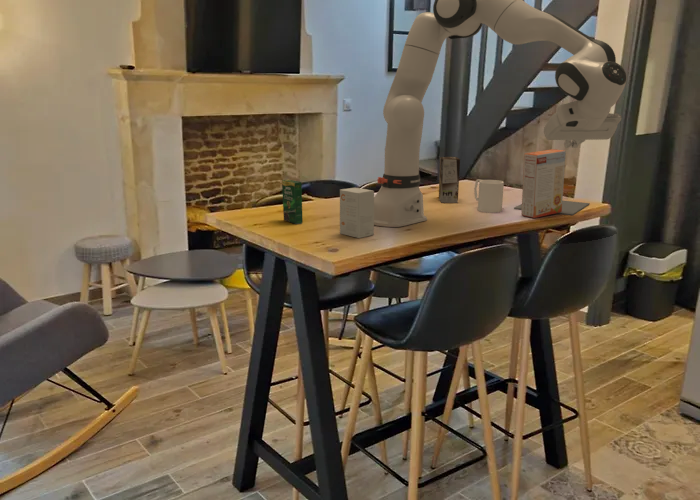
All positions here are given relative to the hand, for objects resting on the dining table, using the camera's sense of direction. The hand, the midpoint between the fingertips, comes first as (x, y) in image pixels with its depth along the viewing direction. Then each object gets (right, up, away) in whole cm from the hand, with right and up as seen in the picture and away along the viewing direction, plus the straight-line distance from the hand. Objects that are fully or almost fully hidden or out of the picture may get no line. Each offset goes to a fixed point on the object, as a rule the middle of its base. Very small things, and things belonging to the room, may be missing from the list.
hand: (570, 146), depth 184 cm
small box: (-64, -27, -6) cm, 69 cm away
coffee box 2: (-29, -13, +47) cm, 57 cm away
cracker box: (-2, -19, +22) cm, 29 cm away
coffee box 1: (-84, -22, +11) cm, 88 cm away
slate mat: (+7, -16, +36) cm, 40 cm away
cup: (-18, -17, +31) cm, 40 cm away
